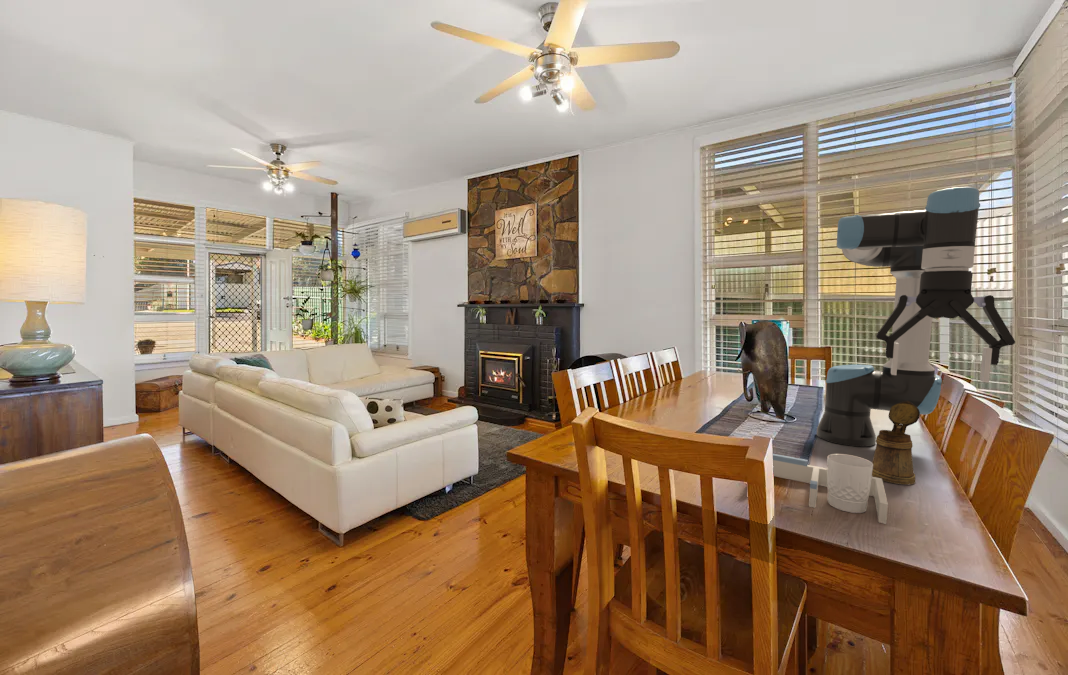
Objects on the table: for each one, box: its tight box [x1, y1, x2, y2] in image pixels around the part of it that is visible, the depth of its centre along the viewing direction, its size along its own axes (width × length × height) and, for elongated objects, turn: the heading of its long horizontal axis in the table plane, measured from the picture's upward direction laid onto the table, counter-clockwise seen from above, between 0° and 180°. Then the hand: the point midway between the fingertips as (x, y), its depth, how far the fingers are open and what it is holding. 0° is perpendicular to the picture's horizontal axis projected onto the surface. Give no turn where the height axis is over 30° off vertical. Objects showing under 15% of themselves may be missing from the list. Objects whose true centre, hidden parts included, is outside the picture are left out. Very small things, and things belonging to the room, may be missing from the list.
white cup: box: [826, 453, 873, 514], centre depth 94 cm, size 8×8×10 cm
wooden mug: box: [871, 401, 921, 486], centre depth 110 cm, size 9×14×18 cm, turn 127°
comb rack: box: [772, 453, 889, 525], centre depth 100 cm, size 15×25×5 cm, turn 56°
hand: (936, 377), depth 90 cm, fingers open, 13 cm apart
